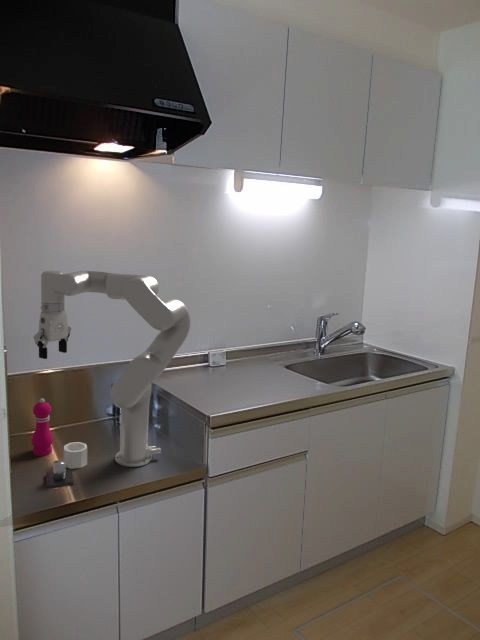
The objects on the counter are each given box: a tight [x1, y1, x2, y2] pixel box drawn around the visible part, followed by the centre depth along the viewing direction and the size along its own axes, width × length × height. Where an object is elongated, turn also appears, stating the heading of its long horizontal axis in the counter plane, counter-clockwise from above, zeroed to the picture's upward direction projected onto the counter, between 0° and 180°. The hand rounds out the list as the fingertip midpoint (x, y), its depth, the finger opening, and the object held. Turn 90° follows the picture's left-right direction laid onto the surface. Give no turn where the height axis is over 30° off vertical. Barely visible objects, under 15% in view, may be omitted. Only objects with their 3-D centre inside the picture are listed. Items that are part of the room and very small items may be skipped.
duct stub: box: [45, 459, 74, 488], centre depth 175 cm, size 8×8×6 cm
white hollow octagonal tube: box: [63, 441, 88, 470], centre depth 187 cm, size 7×7×6 cm
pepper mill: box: [30, 397, 54, 457], centre depth 192 cm, size 7×7×20 cm
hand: (53, 355), depth 192 cm, fingers open, 9 cm apart
